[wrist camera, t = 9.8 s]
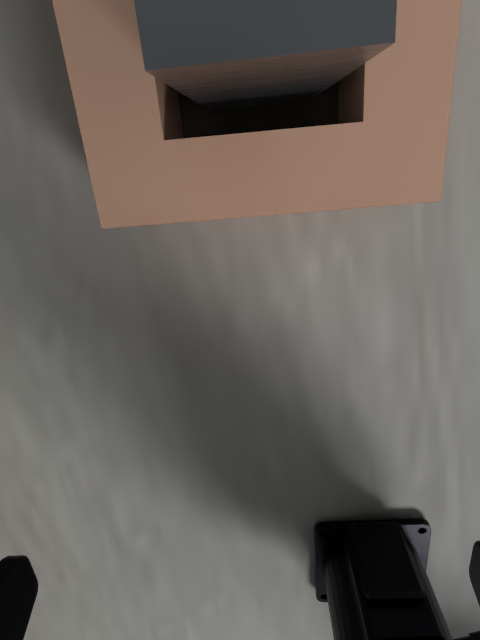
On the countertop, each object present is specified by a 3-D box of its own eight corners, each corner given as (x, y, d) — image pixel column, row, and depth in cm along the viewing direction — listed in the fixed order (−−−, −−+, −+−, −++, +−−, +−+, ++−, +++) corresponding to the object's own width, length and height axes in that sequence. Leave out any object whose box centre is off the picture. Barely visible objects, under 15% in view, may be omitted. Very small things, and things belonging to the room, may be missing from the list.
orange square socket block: (400, 187, 17) (440, 201, 13) (133, 209, 18) (101, 229, 14) (424, -194, 13) (495, -333, 9) (68, -145, 13) (-3, -254, 10)
